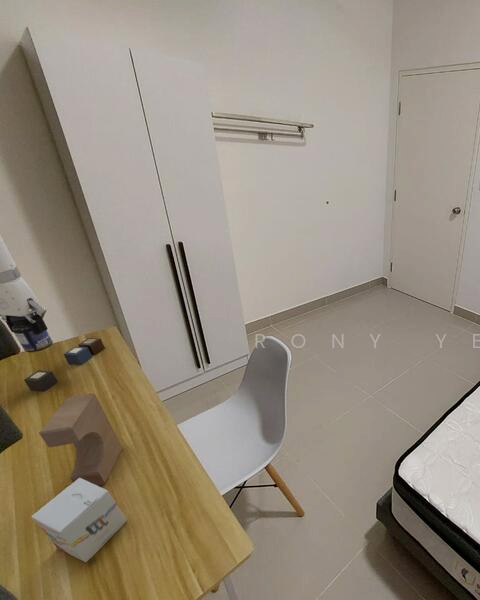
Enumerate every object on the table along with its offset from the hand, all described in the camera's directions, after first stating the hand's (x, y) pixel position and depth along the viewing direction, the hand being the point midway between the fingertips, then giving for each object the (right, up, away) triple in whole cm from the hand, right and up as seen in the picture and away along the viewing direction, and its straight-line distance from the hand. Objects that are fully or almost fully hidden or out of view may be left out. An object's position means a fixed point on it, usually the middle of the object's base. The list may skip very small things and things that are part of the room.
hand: (30, 330), depth 96 cm
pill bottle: (0, -5, +3) cm, 6 cm away
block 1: (-5, -19, +9) cm, 22 cm away
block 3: (-5, -10, +25) cm, 28 cm away
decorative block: (+34, -34, -14) cm, 50 cm away
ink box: (+44, -41, -27) cm, 66 cm away
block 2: (-5, -13, +20) cm, 25 cm away
